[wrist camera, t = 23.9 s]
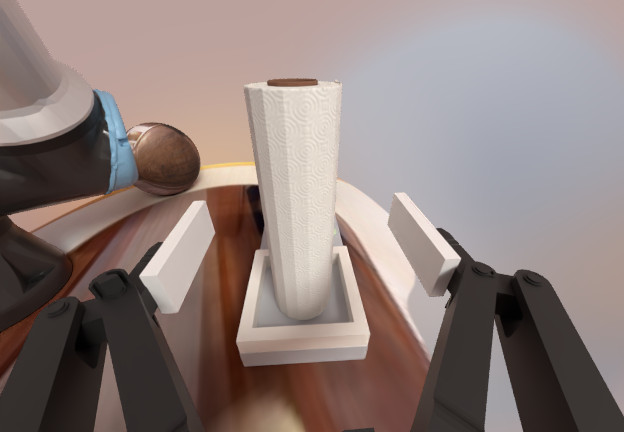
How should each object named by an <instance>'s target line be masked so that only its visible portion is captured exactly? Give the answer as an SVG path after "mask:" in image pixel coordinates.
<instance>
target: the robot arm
mask: <svg viewBox="0 0 624 432" xmlns="http://www.w3.org/2000/svg"><path fill="white" fill-rule="evenodd" d="M128 140H129V139H128V137H127V133H126V129H125V127H124V123H123V121H122V118H121V115H120V112H119V109H118V107H117V104H116V102H115V100H114V98H113V96H112V95H111V94H110V93H108V92H106V91H100V90H97V89H95V90H92V88H91V87H90V85H89V84H88V82H87V81H86V80H85V78H84V77H83V76H82V75H81V74H79V73H78V72H77V71H76V70H74V69H73V68H71V67H69V66H68V65H66V64H64V63H61V62H59V61H57V60H54V59H53V58H52V56H51V55H50V53H49V51H48V50H47V48H46V47H45V45H44V43H43V42H42V40H41V39H40V37H39V35H38V34H37V32H36V31H35V29H34V27H33V26H32V24H31V22H30V21H29V19H28V18H27V16H26V15H25V13H24V11H23V10H22V8H21V6H20V5H19V3H18V2H17V0H0V331H2V330H4V329H6V328H8V327H10V326H12V325H13V324H15V323H17V322H18V321H20V320H22V319H23V318H25V317H26V316H28V315H29V314H31V313H32V312H34V311H35V310H37V309H38V308H40V307H41V306H42V305H43V304H45V303H46V302H47V301H48V300H50V299H51V298H52V297H53V296H54V295H55V294H56V293H57V292H58V291H59V290H60V289H61V288H62V287H63V286H64V285H65V283H66V282H67V280H68V279H69V277H70V275H71V272H72V264H71V262H70V261H69V259H68V258H67V257H66V256H65V255H64V253H63V252H62V251H61V250H59V249H58V248H56V247H54V246H53V245H51V244H49V243H47V242H45V241H43V240H42V239H40V238H38V237H36V236H34V235H32V234H31V233H29V232H27V231H25V230H23V229H21V228H20V227H18V226H17V225H15V224H14V223H13V222H12V221H11V219H9V217H8V216H7V215H11V214H14V213H19V212H24V211H28V210H33V209H37V208H42V207H47V206H52V205H57V204H61V203H66V202H71V201H75V200H80V199H84V198H89V197H94V196H99V195H103V194H104V195H106V194H110V193H111V192H112V191H116V190H119V189H123V188H127V187H130V186H132V185H134V184H135V183H136V182H137V180H138V170H137V166H136V162H135V158H134V155H133V152H132V149H131V146H130V143H129V141H128ZM388 226H389V228H390V230H391V231H392V233H393V235H394V237H395V238H396V240H397V242H398V244H399V245H400V247H401V249H402V250H403V252H404V254H405V256H406V257H407V259H408V261H409V263H410V264H411V266H412V268H413V269H414V271H415V273H416V275H417V276H418V278H419V280H420V282H421V283H422V285H423V287H424V288H425V290H426V292H427V294H428V295H429V297H436V296H444V293H445V291H446V289H448V291H449V292H450V293H451V296H450V298H449V300H448V302H447V304H446V306H445V308H446V311H445V315H444V318H443V322H442V325H441V329H440V332H439V335H438V339H437V342H436V346H435V350H434V353H433V356H432V360H431V363H430V367H429V370H428V374H427V377H426V380H425V384H424V387H423V391H422V394H421V398H420V401H419V405H418V408H417V412H416V415H415V419H414V422H413V425H412V428H411V430H410V432H485V430H484V424H485V413H486V402H487V391H488V379H489V370H490V359H491V348H492V337H493V326H494V319H495V323H496V326H497V331H498V335H499V339H500V342H501V346H502V350H503V354H504V358H505V362H506V366H507V370H508V374H509V378H510V382H511V385H512V389H513V393H514V397H515V401H516V405H517V409H518V413H519V417H520V420H521V425H522V428H523V432H624V416H623V414H622V412H621V411H620V409H619V407H618V405H617V403H616V402H615V400H614V398H613V396H612V394H611V393H610V391H609V389H608V387H607V385H606V383H605V382H604V380H603V378H602V376H601V374H600V372H599V371H598V369H597V367H596V365H595V363H594V362H593V360H592V358H591V356H590V354H589V352H588V351H587V349H586V347H585V345H584V343H583V341H582V340H581V338H580V336H579V334H578V332H577V331H576V329H575V327H574V325H573V323H572V322H571V320H570V318H569V316H568V314H567V313H566V311H565V309H564V307H563V305H562V303H561V302H560V300H559V298H558V296H557V294H556V292H555V291H554V289H553V287H552V285H551V284H550V282H549V281H548V280H547V279H545V278H544V277H543V276H541V275H539V274H537V273H535V272H532V271H529V270H518V271H517V272H516V273H515V274H514V276H509V275H503V274H498V273H496V272H495V270H493V269H492V268H491V267H490V266H488V265H486V264H483V263H480V262H475V261H474V260H473V259H472V258H471V256H470V255H469V254H468V253H467V252H466V251H465V250H464V249H463V248H462V247H461V246H460V245H459V243H458V242H457V241H456V240H455V239H454V238H453V237H452V236H451V235H450V233H448V232H446V231H445V230H443V229H442V228H435V227H434V226H433V225H432V224H431V223H430V222H429V220H428V219H427V218H426V217H425V216H424V215H423V213H422V212H421V211H420V210H419V209H418V207H417V206H416V205H415V204H414V203H413V202H412V200H411V199H410V198H409V197H408V196H407V195H406V193H394V197H393V201H392V206H391V211H390V215H389V220H388ZM214 234H215V231H214V227H213V224H212V221H211V218H210V214H209V211H208V208H207V205H206V201H193V203H192V204H191V206H190V207H189V208H188V210H187V211H186V212H185V214H184V215H183V217H182V218H181V219H180V221H179V222H178V223H177V225H176V226H175V228H174V229H173V230H172V232H171V233H170V234H169V236H168V237H167V239H166V240H165V241H164V242H158V243H156V244H155V245H154V246H152V247H151V248H150V249H149V250H148V251H147V252H146V254H145V255H144V257H142V259H141V260H140V262H139V263H138V264H137V265H136V266H135V268H134V269H133V270H132V272H131V273H130V274H129V275H128V274H127V272H126V271H125V270H124V269H112V270H109V271H106V272H104V273H102V274H100V275H99V276H97V277H96V278H95V279H93V280H92V282H91V283H90V284H89V288H88V289H89V290H90V291H91V292H92V294H93V295H94V296H95V297H96V298H95V299H92V300H88V301H85V302H80V301H79V300H78V299H77V298H76V297H65V298H61V299H59V300H57V301H54V302H53V303H51V304H49V305H48V306H46V307H45V308H44V309H43V310H42V311H40V313H39V314H38V316H37V317H36V319H35V321H34V324H33V326H32V328H31V330H30V332H29V334H28V337H27V339H26V341H25V343H24V345H23V348H22V350H21V352H20V354H19V356H18V358H17V361H16V363H15V365H14V367H13V369H12V372H11V374H10V376H9V378H8V380H7V383H6V385H5V387H4V389H3V391H2V393H1V396H0V432H93V431H94V425H95V418H96V412H97V406H98V400H99V393H100V387H101V381H102V375H103V368H104V362H105V356H106V349H107V343H108V345H109V350H110V354H111V359H112V364H113V368H114V373H115V377H116V382H117V386H118V391H119V396H120V400H121V405H122V409H123V414H124V418H125V423H126V428H127V432H206V431H205V429H204V427H203V424H202V422H201V420H200V418H199V415H198V413H197V411H196V408H195V406H194V404H193V401H192V399H191V397H190V394H189V392H188V390H187V387H186V385H185V383H184V381H183V378H182V376H181V374H180V371H179V369H178V367H177V364H176V362H175V360H174V357H173V355H172V353H171V351H170V348H169V346H168V344H167V341H166V339H165V337H164V334H163V332H162V330H161V327H160V325H159V323H158V320H157V318H156V316H155V315H154V313H155V311H156V309H157V307H158V308H159V309H160V311H161V313H162V314H166V313H178V311H179V309H180V307H181V305H182V303H183V301H184V298H185V296H186V294H187V292H188V290H189V288H190V285H191V283H192V281H193V279H194V277H195V275H196V273H197V270H198V268H199V266H200V264H201V262H202V260H203V258H204V255H205V253H206V251H207V249H208V247H209V245H210V243H211V240H212V238H213V236H214ZM343 432H375V431H374V428H366V429H355V430H345V431H343Z"/></svg>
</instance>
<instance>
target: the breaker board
mask: <svg viewBox="0 0 624 432" xmlns="http://www.w3.org/2000/svg"><path fill="white" fill-rule="evenodd" d="M369 337H370V331H369V328H368V324H367V320H366V317H365V313H364V309H363V305H362V302H361V298H360V294H359V291H358V287H357V283H356V279H355V276H354V272H353V268H352V265H351V261H350V257H349V254H348V250H347V246H343V244H342V240H341V236H340V232H339V228H338V224H337V220H336V216H335V220H334V238H333V256H332V274H331V290H330V297H329V301H328V305H327V307H326V308H325V310H324V311H323V312H322V313H321V314H320V315H318V316H316V317H314V318H312V319H310V320H296V319H292V318H289V317H287V316H286V315H285V314H284V313H283V312H281V310H280V309H279V306H278V304H277V302H276V296H275V289H274V283H273V276H272V270H271V263H270V257H269V250H268V244H267V237H266V230H265V227H264V232H263V237H262V242H261V247H260V250H256V252H255V257H254V261H253V266H252V270H251V275H250V280H249V284H248V289H247V293H246V298H245V303H244V307H243V312H242V316H241V321H240V326H239V330H238V335H237V339H236V343H237V346H238V349H239V352H240V357H241V359H242V362H243V365H244V367H246V366H261V365H277V364H293V363H308V362H324V361H340V360H356V359H365V357H366V352H367V348H368V341H369Z"/></svg>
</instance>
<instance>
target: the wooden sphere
mask: <svg viewBox="0 0 624 432" xmlns="http://www.w3.org/2000/svg"><path fill="white" fill-rule="evenodd" d="M126 133H127V137H128V139H129V140H128V141H129V143H130V146H131V149H132V152H133V155H134V158H135V162H136V166H137V170H138V180H137V182H136V183H135V184H134V186H136V187H137V188H139V189H141V190H143V191H146V192H149V193H152V194H158V195H170V194H175V193H178V192H181V191H183V190H185V189H187V188H188V187H189V186H190V185H191V184H192V183H193V182H194V181H195V180H196V178H197V176H198V174H199V171H200V157H199V153H198V150H197V148H196V146H195V145H194V143H193V142H192V141H191V139H190V138H189V137H188V136H186V135H185V134H184V133H183V132H181V131H180V130H178V129H176V128H174V127H172V126H169V125H166V124H162V123H144V124H140V125H137V126H135V127H133V128H131V129H129V130H128V131H127V132H126Z"/></svg>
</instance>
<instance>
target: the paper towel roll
mask: <svg viewBox="0 0 624 432" xmlns="http://www.w3.org/2000/svg"><path fill="white" fill-rule="evenodd" d="M244 93H245V99H246V105H247V112H248V119H249V125H250V132H251V138H252V144H253V152H254V158H255V165H256V171H257V178H258V185H259V191H260V198H261V204H262V211H263V217H264V224H265V230H266V237H267V244H268V250H269V257H270V263H271V270H272V276H273V283H274V289H275V296H276V302H277V304H278V306H279V309H280V310H281V312H283V313H284V314H285V315H286V316H287V317H289V318H292V319H296V320H310V319H312V318H314V317H316V316H318V315H320V314H321V313H322V312H323V311H324V310H325V308H326V307H327V305H328V301H329V297H330V290H331V274H332V256H333V238H334V220H335V202H336V184H337V167H338V148H339V131H340V112H341V94H342V83H341V82H338V80H335V83H334V82H319V81H317V80H316V79H274V80H269V81H267V82H264V83H254V84H247V85H245V86H244Z"/></svg>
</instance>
